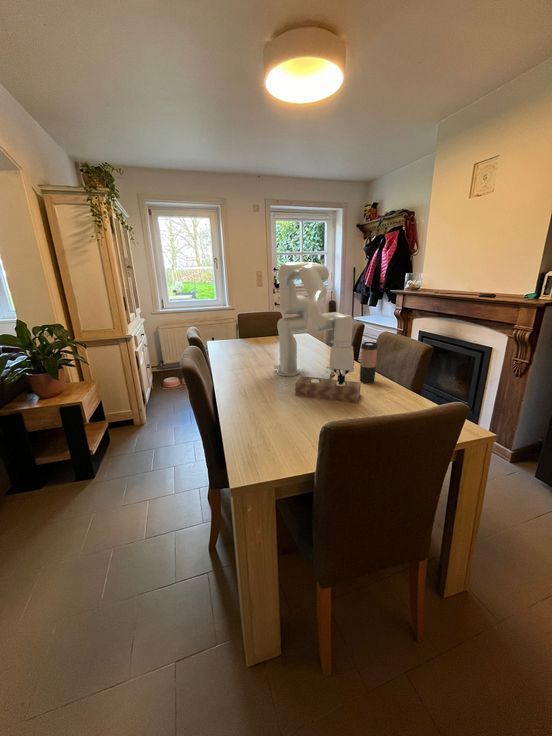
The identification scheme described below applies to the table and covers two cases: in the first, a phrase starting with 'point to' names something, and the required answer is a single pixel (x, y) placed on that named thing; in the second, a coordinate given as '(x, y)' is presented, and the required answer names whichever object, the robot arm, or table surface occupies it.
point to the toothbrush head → (328, 373)
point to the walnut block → (328, 389)
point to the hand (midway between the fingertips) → (341, 383)
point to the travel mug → (368, 362)
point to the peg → (314, 381)
